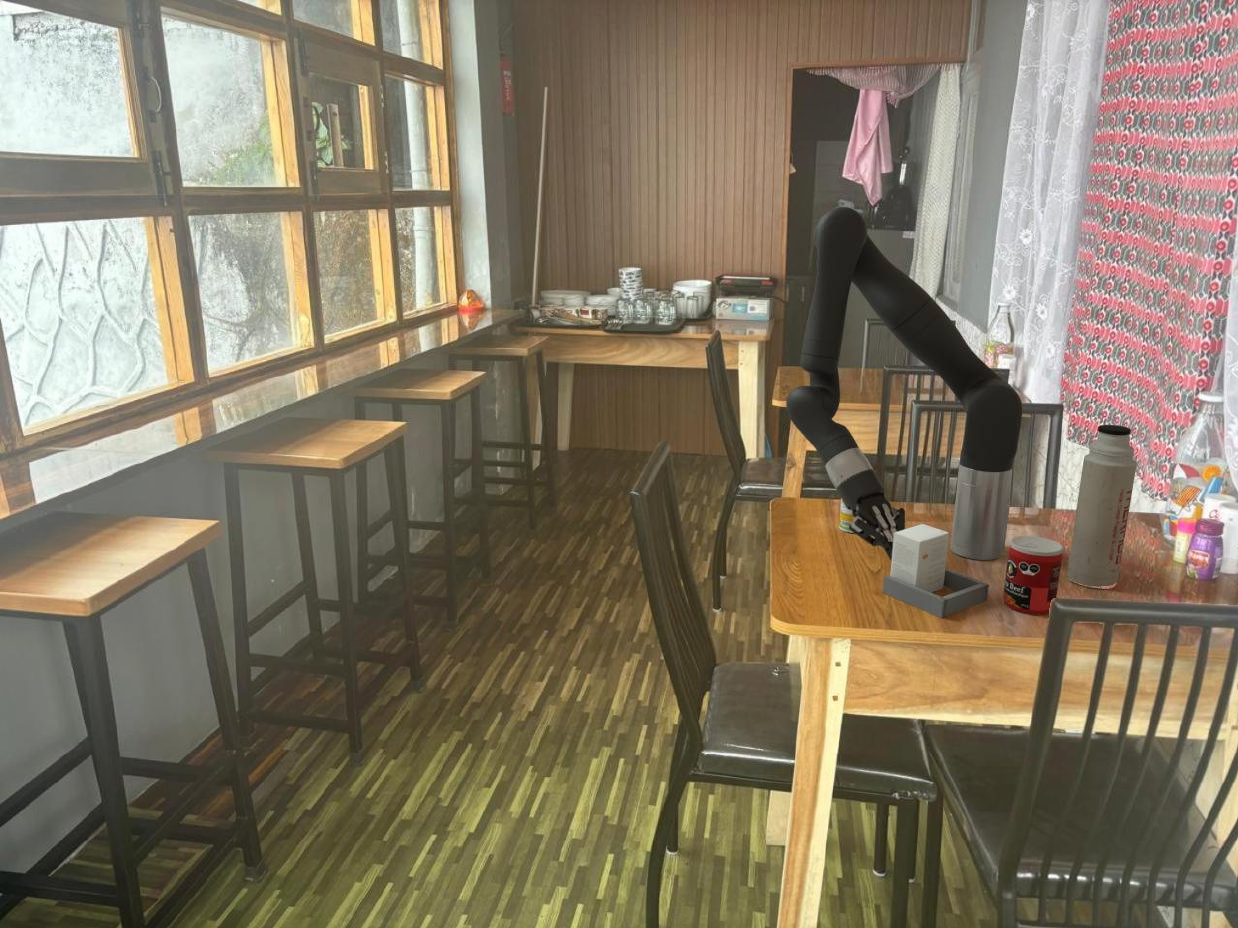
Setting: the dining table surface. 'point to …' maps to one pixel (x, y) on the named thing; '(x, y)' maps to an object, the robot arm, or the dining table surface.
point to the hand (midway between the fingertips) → (901, 562)
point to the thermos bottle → (1102, 508)
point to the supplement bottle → (845, 518)
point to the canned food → (1032, 574)
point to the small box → (920, 557)
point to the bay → (965, 596)
